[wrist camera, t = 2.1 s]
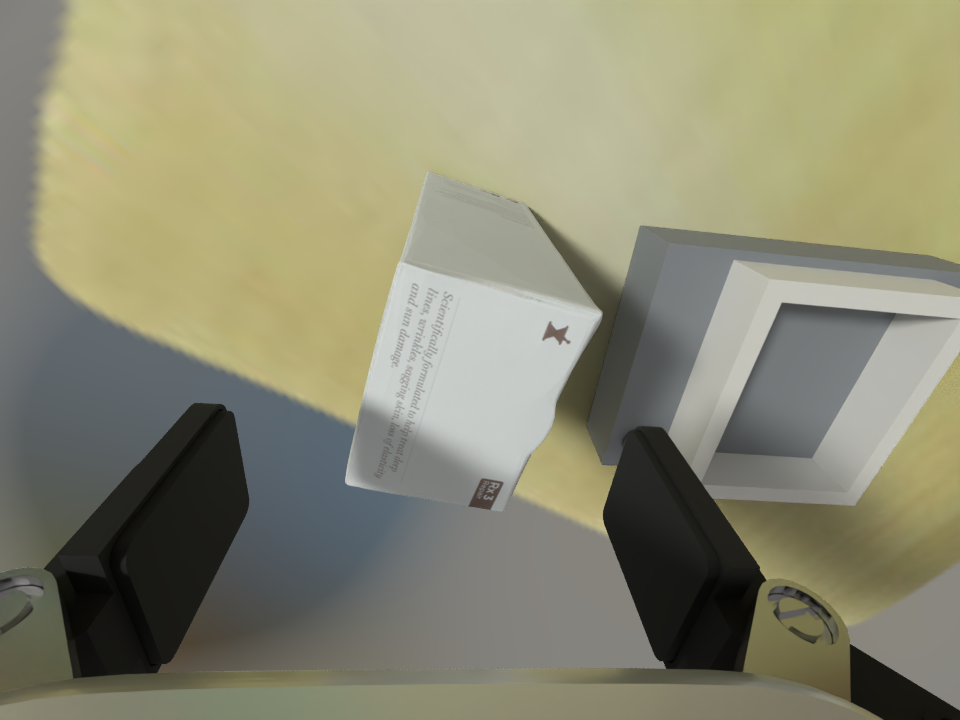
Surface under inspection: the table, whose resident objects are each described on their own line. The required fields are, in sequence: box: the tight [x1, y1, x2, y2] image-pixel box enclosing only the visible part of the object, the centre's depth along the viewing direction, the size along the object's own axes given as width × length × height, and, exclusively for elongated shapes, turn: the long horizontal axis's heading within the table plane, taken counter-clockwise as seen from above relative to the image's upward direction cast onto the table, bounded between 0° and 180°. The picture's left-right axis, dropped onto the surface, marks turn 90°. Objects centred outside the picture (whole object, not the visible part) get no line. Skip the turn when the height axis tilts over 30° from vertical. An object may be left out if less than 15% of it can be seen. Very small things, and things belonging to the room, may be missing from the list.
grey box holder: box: [587, 226, 960, 506], centre depth 26 cm, size 18×14×7 cm
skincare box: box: [345, 172, 603, 512], centre depth 20 cm, size 8×6×15 cm
